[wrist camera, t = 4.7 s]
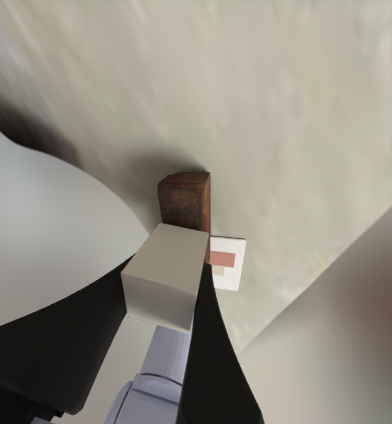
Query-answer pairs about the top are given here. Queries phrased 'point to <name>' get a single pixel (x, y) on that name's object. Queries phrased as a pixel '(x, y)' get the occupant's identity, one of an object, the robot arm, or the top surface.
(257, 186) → the top surface
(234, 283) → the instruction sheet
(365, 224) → the top surface
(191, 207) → the brick
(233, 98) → the top surface
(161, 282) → the cream block
